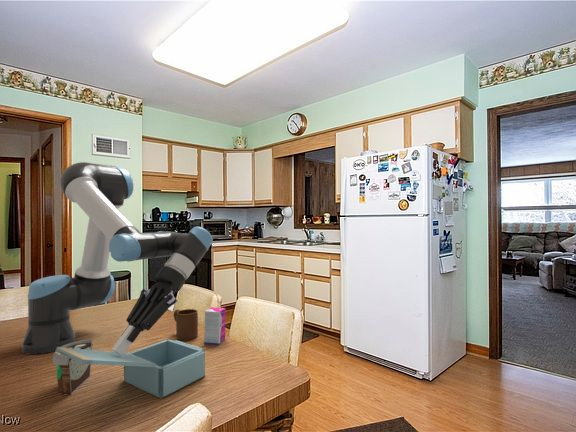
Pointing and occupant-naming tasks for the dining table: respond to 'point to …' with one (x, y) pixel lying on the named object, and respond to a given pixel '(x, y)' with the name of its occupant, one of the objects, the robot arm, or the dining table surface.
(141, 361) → the flap
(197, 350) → the carton
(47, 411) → the dining table surface
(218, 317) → the supplement box
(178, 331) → the mug
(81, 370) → the food container
